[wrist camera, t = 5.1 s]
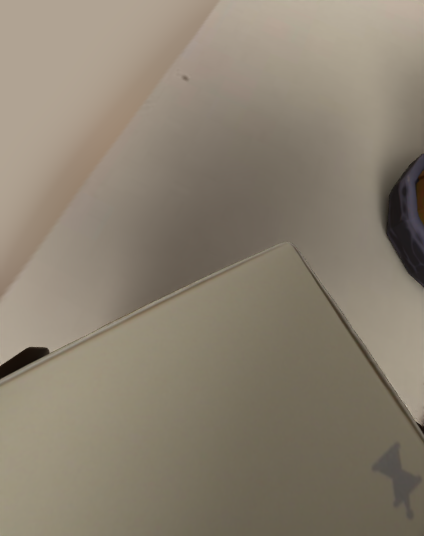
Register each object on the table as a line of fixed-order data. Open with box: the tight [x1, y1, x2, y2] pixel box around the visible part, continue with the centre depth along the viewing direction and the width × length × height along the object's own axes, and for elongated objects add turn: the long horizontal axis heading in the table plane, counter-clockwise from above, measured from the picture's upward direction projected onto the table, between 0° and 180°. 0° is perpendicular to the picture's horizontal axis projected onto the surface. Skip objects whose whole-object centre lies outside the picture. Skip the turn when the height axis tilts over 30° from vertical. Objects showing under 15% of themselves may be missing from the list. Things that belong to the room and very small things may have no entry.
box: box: [0, 241, 424, 536], centre depth 9 cm, size 5×4×11 cm
